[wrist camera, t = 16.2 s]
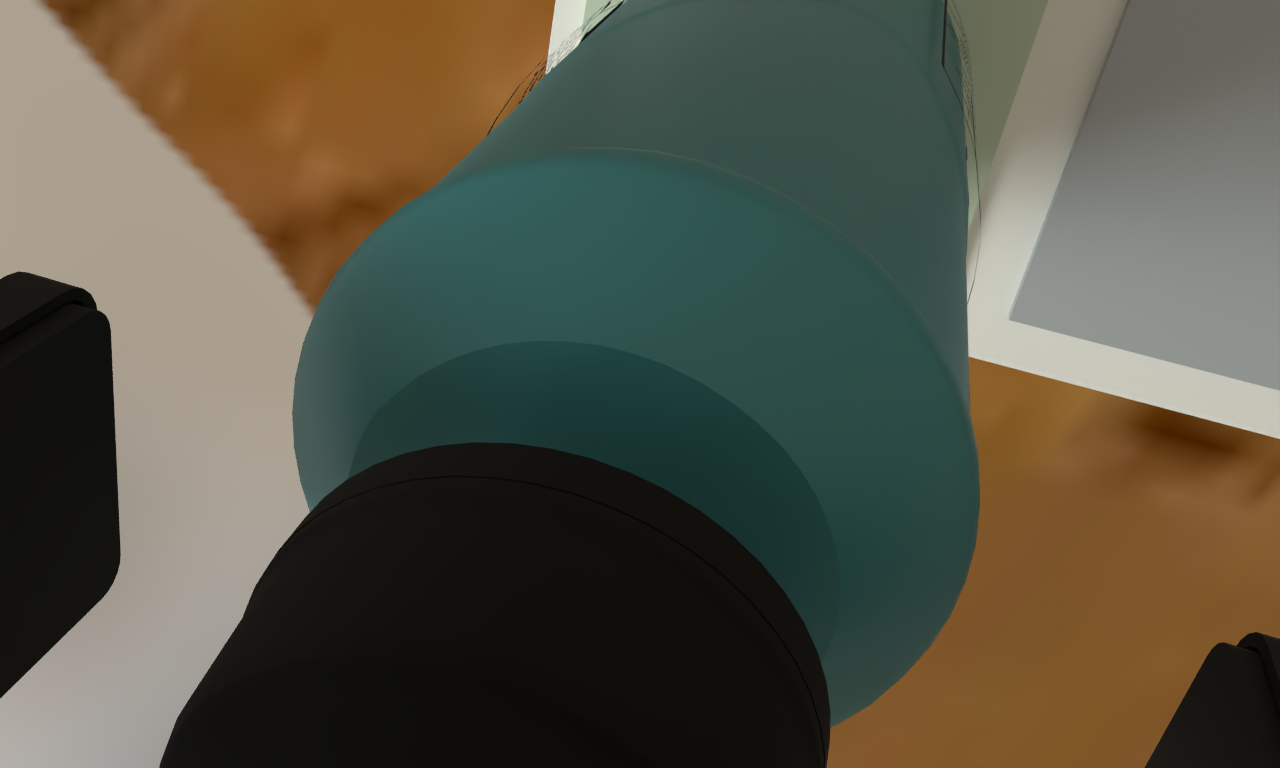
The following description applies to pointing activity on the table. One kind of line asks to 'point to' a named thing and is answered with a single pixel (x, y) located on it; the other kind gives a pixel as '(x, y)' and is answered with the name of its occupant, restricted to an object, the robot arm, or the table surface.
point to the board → (1117, 195)
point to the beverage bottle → (635, 417)
